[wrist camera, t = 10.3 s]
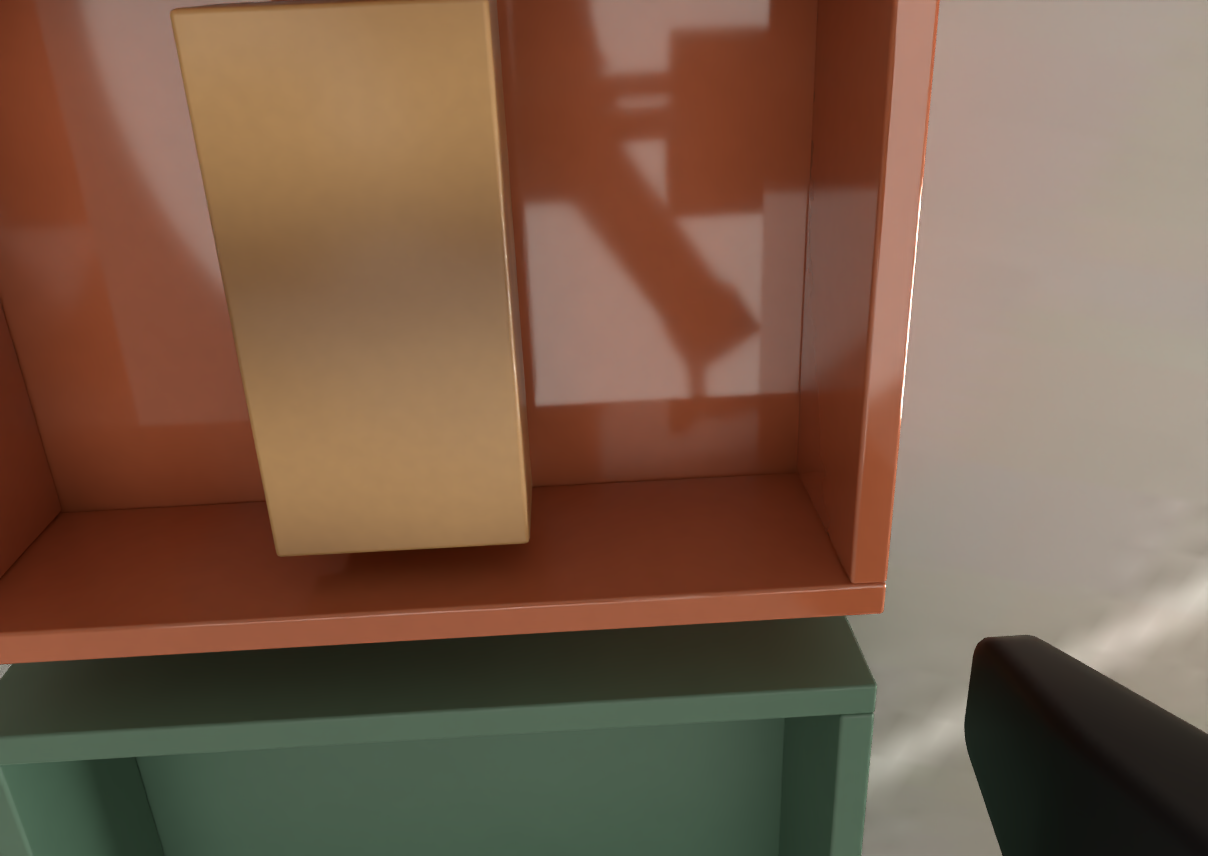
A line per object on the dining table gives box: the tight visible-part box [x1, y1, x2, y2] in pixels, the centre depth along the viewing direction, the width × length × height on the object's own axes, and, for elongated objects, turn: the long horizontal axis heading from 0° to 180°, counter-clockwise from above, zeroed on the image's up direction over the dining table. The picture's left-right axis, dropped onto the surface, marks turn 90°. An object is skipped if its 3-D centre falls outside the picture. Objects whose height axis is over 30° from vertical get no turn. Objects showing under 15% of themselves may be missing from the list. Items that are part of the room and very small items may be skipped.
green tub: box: [0, 616, 877, 856], centre depth 21 cm, size 11×15×4 cm
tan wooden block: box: [170, 0, 532, 557], centre depth 16 cm, size 8×4×4 cm, turn 2°
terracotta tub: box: [0, 0, 940, 664], centre depth 16 cm, size 11×15×4 cm
